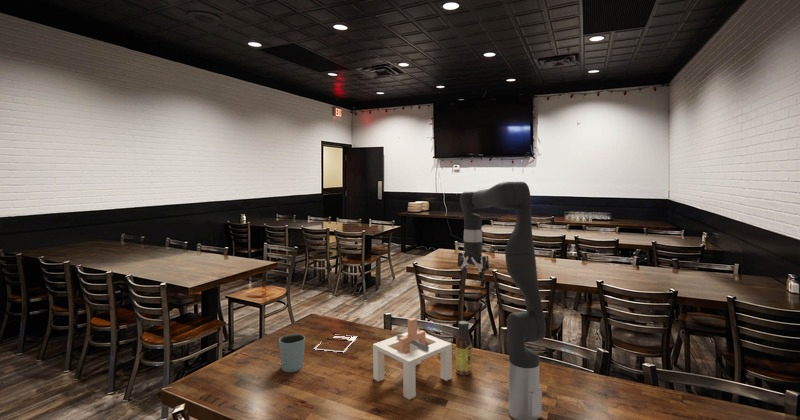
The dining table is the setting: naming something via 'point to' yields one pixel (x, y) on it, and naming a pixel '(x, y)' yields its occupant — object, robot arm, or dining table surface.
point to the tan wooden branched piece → (411, 339)
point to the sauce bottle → (463, 350)
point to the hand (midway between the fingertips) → (472, 278)
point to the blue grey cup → (292, 352)
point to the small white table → (412, 359)
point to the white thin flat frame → (342, 338)
